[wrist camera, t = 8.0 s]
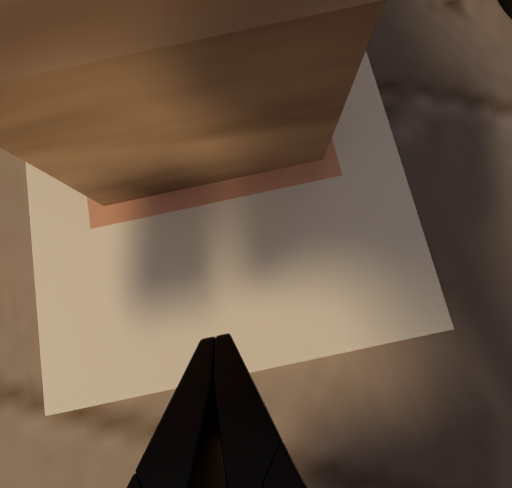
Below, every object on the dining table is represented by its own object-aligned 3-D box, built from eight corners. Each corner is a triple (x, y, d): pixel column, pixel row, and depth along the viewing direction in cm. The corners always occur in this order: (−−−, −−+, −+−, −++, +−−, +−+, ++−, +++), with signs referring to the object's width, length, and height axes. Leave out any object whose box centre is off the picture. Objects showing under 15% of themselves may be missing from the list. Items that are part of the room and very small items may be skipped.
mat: (16, -9, 20) (11, -14, 19) (323, -75, 20) (324, -81, 19) (49, 413, 15) (45, 416, 15) (450, 328, 15) (454, 329, 15)
